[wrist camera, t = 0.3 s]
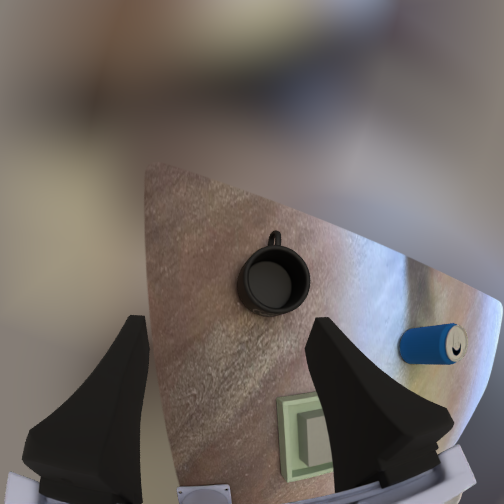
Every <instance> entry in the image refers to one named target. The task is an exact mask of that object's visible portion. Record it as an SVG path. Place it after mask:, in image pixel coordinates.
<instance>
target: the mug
mask: <svg viewBox="0 0 504 504" xmlns="http://www.w3.org/2000/svg"><path fill="white" fill-rule="evenodd" d="M274 239H275V245H274ZM237 287H238V293H239V296H240V298H241V300H242V302H243V303H244V305H245V306H246V307H247V308H248V309H249V310H251V311H252V312H254V313H256V314H258V315H261V316H267V317H271V316H277V315H281V314H285V313H288V312H291V311H293V310H295V309H296V308H298V307H299V306H300V305H301V304H302V303H303V302H304V300H305V299H306V297H307V295H308V292H309V289H310V273H309V270H308V267H307V265H306V263H305V262H304V260H303V259H302V258H301V257H300V256H299V255H298V254H297V253H296V252H295V251H293V250H291V249H289V248H287V247H284V246H281V233H280V232H279V231H273V232H272V233H271V234H270V236H269V241H268V246H266V247H264V248H261V249H259V250H258V251H256V252H255V253H254V254H253V255H252V256H251V257H250V258H249V259H248V261H247V262H246V263H245V265H244V266H243V267H242V269H241V271H240V273H239V276H238V281H237Z"/></svg>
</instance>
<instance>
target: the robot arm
mask: <svg viewBox="0 0 504 504" xmlns="http://www.w3.org/2000/svg"><path fill="white" fill-rule="evenodd" d="M149 350H150V348H149V342H148V335H147V329H146V322H145V316H138V315H130V316H129V317H128V319H127V320H126V322H125V324H124V326H123V327H122V329H121V331H120V332H119V334H118V336H117V338H116V339H115V341H114V342H113V344H112V345H111V347H110V348H109V350H108V351H107V353H106V354H105V356H104V357H103V359H102V360H101V361H100V363H99V364H98V365H97V367H96V368H95V369H94V371H93V372H92V373H91V375H90V376H89V377H88V378H87V379H86V380H85V382H84V383H83V384H82V385H81V386H80V387H79V388H78V389H77V390H76V392H74V394H73V395H72V396H71V397H70V398H69V399H68V400H67V401H66V402H64V403H63V404H62V405H61V406H60V407H59V408H58V409H57V410H55V411H54V412H53V413H52V414H51V415H49V416H48V417H47V418H46V419H44V420H43V421H41V422H40V423H39V424H37V425H36V426H35V427H33V428H32V429H30V430H29V434H28V436H27V439H26V442H25V447H24V451H23V456H22V460H23V462H24V464H25V465H27V466H28V467H29V468H30V469H32V470H33V471H34V472H35V473H37V474H38V475H39V476H41V479H40V482H38V481H35V480H33V479H30V478H28V477H25V476H22V475H19V474H16V473H14V472H9V475H8V481H7V488H6V494H5V502H4V504H142V503H143V500H142V489H141V473H140V420H141V411H142V405H143V398H144V392H145V386H146V380H147V374H148V366H149V365H148V364H149ZM305 353H306V359H307V364H308V368H309V372H310V375H311V378H312V381H313V383H314V386H315V389H316V392H317V395H318V398H319V401H320V404H321V407H322V410H323V413H324V417H325V421H326V426H327V431H328V436H329V442H330V448H331V455H332V462H333V471H334V484H335V494H330V495H326V496H322V497H317V498H312V499H307V500H302V501H296V502H290V503H284V504H444V503H446V502H447V501H449V500H451V499H452V498H454V497H456V496H457V495H459V494H461V493H462V492H464V491H465V490H467V489H468V488H470V487H471V486H473V485H474V484H476V480H475V478H474V475H473V473H472V471H471V468H470V466H469V464H468V462H467V460H466V457H465V455H464V453H463V451H462V449H461V447H460V445H459V444H457V445H455V446H453V447H451V448H449V449H447V450H445V451H443V452H441V453H440V454H438V455H437V453H436V450H437V449H438V445H437V443H436V442H437V441H438V440H440V439H441V438H442V437H443V436H444V435H445V434H447V433H448V432H449V431H450V430H451V429H452V427H453V425H454V421H453V420H452V418H451V416H450V414H449V412H448V410H447V408H445V407H442V406H440V405H438V404H435V403H433V402H431V401H428V400H426V399H425V398H423V397H421V396H419V395H417V394H415V393H414V392H412V391H410V390H408V389H407V388H405V387H404V386H402V385H401V384H399V383H398V382H396V381H395V380H394V379H392V378H391V377H390V376H388V375H387V374H386V373H384V372H383V371H382V370H381V369H379V368H378V367H377V366H376V365H375V364H374V363H373V362H372V361H370V360H369V359H368V358H367V357H366V356H365V355H364V354H363V353H362V352H361V351H360V350H359V349H358V348H357V347H356V346H355V345H354V344H353V343H352V342H351V341H350V340H349V339H348V338H347V336H346V335H345V334H344V333H343V332H342V331H341V330H340V329H339V328H338V327H337V326H336V325H335V323H334V322H333V321H332V320H331V319H330V318H329V317H319V318H315V321H314V324H313V327H312V330H311V332H310V335H309V338H308V341H307V343H306V346H305ZM225 489H228V490H225ZM179 491H181V492H182V493H180V492H179ZM177 494H178V500H179V504H232V502H231V494H230V487H229V485H228V484H220V485H207V486H183V487H178V488H177Z"/></svg>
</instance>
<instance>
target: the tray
mask: <svg viewBox="0 0 504 504" xmlns="http://www.w3.org/2000/svg"><path fill="white" fill-rule="evenodd" d="M276 402H277V416H278V431H279V447H280V462H281V475H282V476H283V477H284V479H285V480H286V481H287V482H293V481H297V480H302V479H306V478H311V477H315V476H319V475H322V474H326V473H330V472H333V462H328V463H324V464H320V465H316V466H312V467H308V466H307V465H306V464H305V463H304V462H302V461H301V460H300V459H299V441H298V422H297V413H301V412H307V411H312V410H317V409H322V407H321V404H320V401H319V398H318V395H317V392H310V393H304V394H298V395H292V396H285V397H278V398H276Z"/></svg>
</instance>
